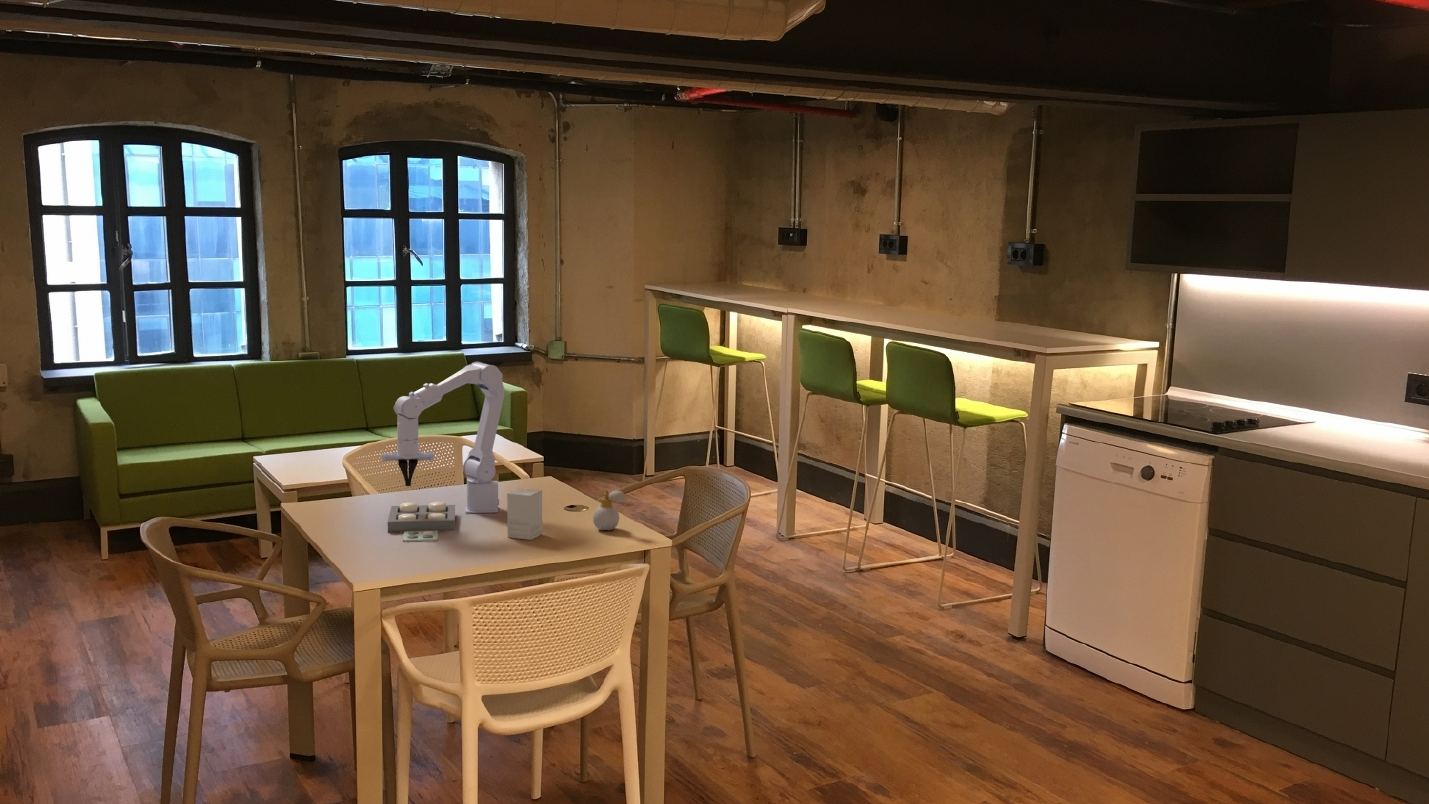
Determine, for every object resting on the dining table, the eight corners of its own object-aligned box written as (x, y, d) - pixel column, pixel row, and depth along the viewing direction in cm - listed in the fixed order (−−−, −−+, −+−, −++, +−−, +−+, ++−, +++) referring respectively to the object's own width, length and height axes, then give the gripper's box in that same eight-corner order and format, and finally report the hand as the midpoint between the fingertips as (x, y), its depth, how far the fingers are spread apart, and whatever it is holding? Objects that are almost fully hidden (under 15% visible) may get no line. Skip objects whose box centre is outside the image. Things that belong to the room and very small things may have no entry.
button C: (417, 511, 339) (417, 502, 339) (416, 515, 335) (416, 506, 334) (400, 511, 338) (400, 502, 338) (399, 515, 334) (399, 506, 333)
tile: (437, 532, 325) (437, 529, 325) (437, 540, 316) (437, 538, 316) (404, 532, 323) (404, 530, 323) (402, 541, 315) (402, 539, 314)
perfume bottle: (597, 525, 338) (598, 484, 336) (630, 528, 336) (630, 487, 334) (588, 531, 331) (589, 490, 329) (621, 534, 328) (622, 493, 327)
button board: (455, 514, 344) (455, 504, 344) (454, 530, 327) (454, 520, 327) (391, 516, 341) (391, 506, 340) (387, 532, 323) (387, 521, 323)
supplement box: (543, 534, 327) (543, 489, 325) (530, 540, 320) (530, 495, 318) (519, 531, 329) (519, 487, 327) (506, 537, 322) (506, 492, 320)
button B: (445, 521, 334) (445, 512, 333) (445, 526, 329) (445, 517, 329) (428, 522, 333) (428, 513, 332) (427, 526, 328) (427, 517, 328)
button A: (416, 522, 332) (416, 513, 332) (415, 526, 327) (415, 517, 327) (398, 522, 331) (398, 513, 330) (397, 527, 326) (397, 518, 326)
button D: (445, 510, 341) (445, 501, 341) (445, 514, 336) (445, 505, 336) (428, 510, 340) (428, 502, 340) (428, 514, 335) (428, 506, 335)
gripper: (380, 441, 328) (381, 488, 330) (433, 441, 331) (434, 488, 333) (382, 436, 335) (382, 483, 337) (434, 436, 338) (434, 482, 340)
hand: (408, 485), depth 335 cm, fingers closed
